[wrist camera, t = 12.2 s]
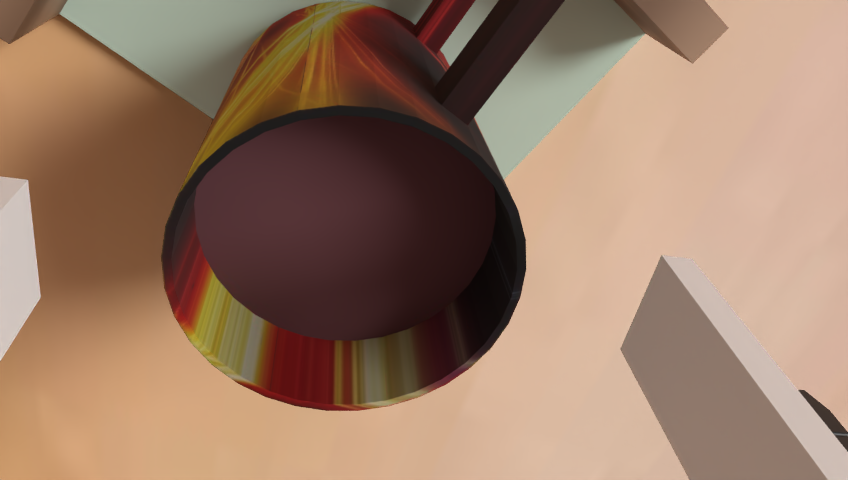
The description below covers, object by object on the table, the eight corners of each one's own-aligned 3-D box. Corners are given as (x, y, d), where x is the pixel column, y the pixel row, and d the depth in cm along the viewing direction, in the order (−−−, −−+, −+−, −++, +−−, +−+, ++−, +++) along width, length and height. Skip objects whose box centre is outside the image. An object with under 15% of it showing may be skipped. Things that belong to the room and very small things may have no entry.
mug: (513, -90, 25) (631, -42, 15) (436, 233, 32) (480, 422, 21) (245, -149, 23) (166, -142, 13) (223, 206, 30) (159, 398, 20)
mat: (65, 10, 26) (59, 13, 25) (280, -346, 21) (279, -350, 21) (421, 256, 33) (422, 262, 32) (639, 30, 28) (645, 33, 28)
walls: (23, -19, 25) (-43, 10, 21) (267, -445, 20) (246, -523, 16) (421, 256, 33) (433, 318, 29) (669, -1, 28) (728, 28, 24)
